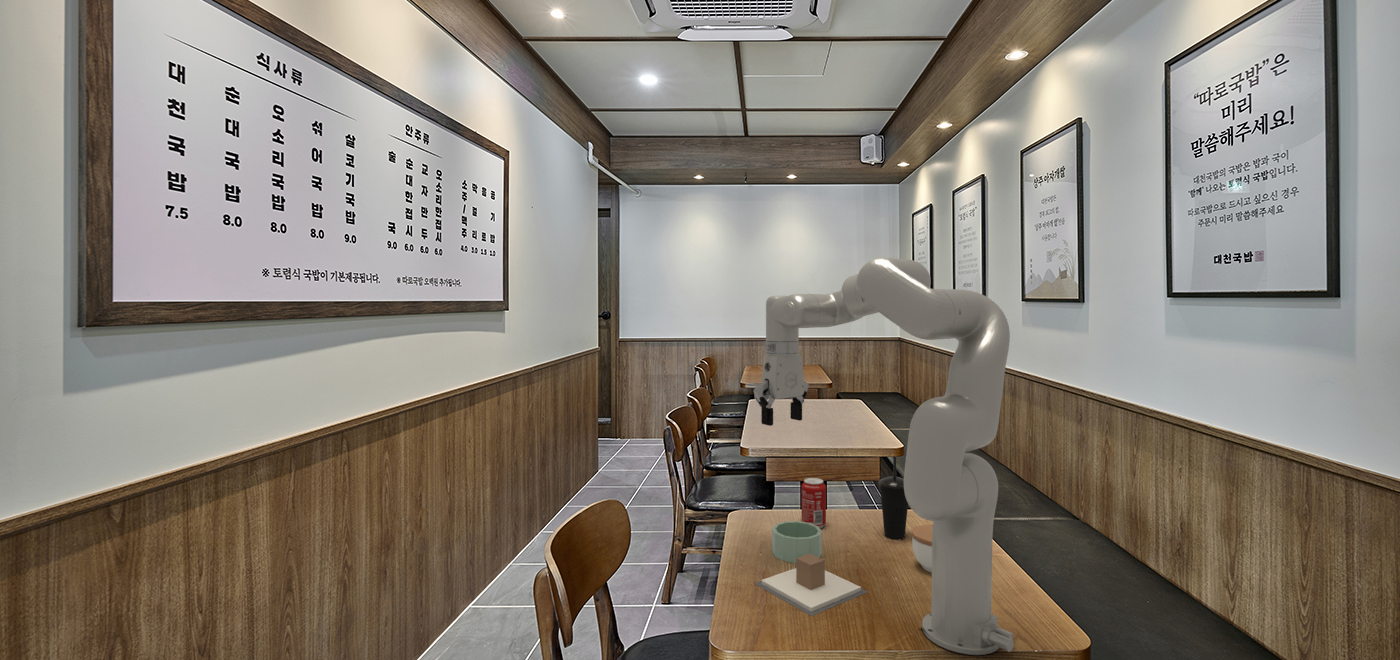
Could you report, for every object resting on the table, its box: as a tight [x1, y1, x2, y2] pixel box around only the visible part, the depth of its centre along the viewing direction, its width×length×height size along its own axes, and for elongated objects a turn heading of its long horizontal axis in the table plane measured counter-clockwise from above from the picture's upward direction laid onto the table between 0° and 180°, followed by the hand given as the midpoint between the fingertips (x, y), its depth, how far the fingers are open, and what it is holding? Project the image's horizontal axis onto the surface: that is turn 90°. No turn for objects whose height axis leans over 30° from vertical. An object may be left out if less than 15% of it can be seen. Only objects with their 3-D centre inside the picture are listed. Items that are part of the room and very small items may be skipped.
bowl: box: [771, 520, 823, 564], centre depth 136 cm, size 11×11×6 cm
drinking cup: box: [878, 456, 909, 541], centre depth 147 cm, size 8×8×20 cm
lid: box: [760, 554, 862, 612], centre depth 119 cm, size 14×14×6 cm
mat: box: [754, 580, 869, 617], centre depth 119 cm, size 16×16×1 cm
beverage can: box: [801, 477, 827, 529], centre depth 155 cm, size 6×6×12 cm
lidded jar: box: [911, 524, 933, 574], centre depth 129 cm, size 11×11×9 cm
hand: (782, 422), depth 138 cm, fingers open, 9 cm apart
